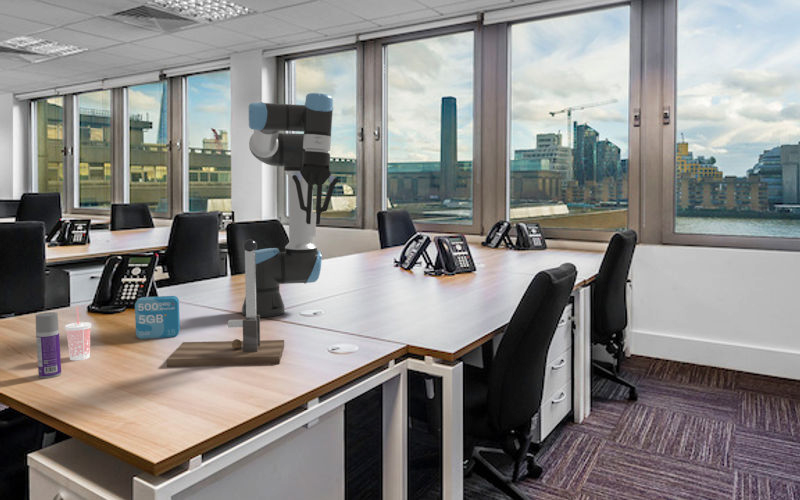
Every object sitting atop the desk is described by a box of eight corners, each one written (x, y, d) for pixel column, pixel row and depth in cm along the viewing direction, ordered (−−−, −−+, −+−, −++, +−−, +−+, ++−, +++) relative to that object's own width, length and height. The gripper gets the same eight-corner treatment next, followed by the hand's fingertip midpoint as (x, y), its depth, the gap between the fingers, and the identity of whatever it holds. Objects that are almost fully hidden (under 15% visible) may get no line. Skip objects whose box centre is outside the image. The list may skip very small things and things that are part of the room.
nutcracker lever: (229, 327, 154) (227, 238, 151) (259, 326, 155) (257, 238, 152) (227, 330, 150) (225, 240, 148) (257, 329, 151) (255, 239, 149)
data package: (136, 339, 169) (134, 300, 167) (138, 335, 173) (136, 297, 172) (179, 336, 172) (177, 298, 171) (180, 333, 176) (178, 295, 175)
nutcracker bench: (183, 349, 159) (182, 312, 158) (284, 346, 162) (283, 310, 161) (167, 366, 143) (165, 326, 142) (279, 363, 147) (278, 324, 146)
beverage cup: (87, 353, 154) (84, 302, 153) (97, 357, 150) (94, 306, 149) (62, 358, 150) (59, 306, 148) (72, 362, 146) (69, 309, 144)
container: (65, 372, 139) (62, 312, 137) (54, 378, 134) (50, 316, 132) (46, 372, 138) (42, 312, 137) (34, 378, 134) (30, 316, 132)
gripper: (293, 148, 151) (289, 236, 154) (341, 152, 154) (336, 238, 157) (292, 149, 158) (288, 233, 161) (338, 153, 161) (333, 235, 164)
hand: (312, 235), depth 159 cm, fingers closed
